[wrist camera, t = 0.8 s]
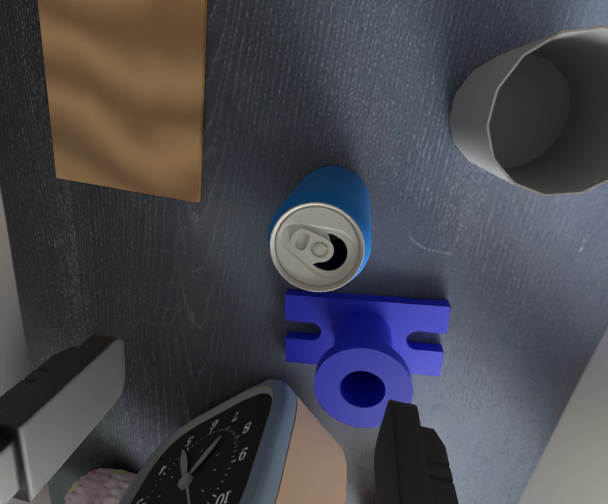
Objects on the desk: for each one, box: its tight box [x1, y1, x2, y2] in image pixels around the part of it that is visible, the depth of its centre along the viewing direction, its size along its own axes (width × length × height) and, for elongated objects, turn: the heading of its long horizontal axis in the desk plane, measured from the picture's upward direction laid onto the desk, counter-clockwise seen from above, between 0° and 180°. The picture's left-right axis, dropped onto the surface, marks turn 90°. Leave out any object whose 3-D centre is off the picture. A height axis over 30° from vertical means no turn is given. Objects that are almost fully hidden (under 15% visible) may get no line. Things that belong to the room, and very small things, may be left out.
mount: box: [285, 289, 451, 428], centre depth 34 cm, size 15×8×9 cm, turn 90°
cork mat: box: [38, 0, 207, 203], centre depth 33 cm, size 16×14×1 cm
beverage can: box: [268, 166, 372, 292], centre depth 28 cm, size 6×6×12 cm
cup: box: [449, 25, 608, 196], centre depth 25 cm, size 8×8×10 cm
